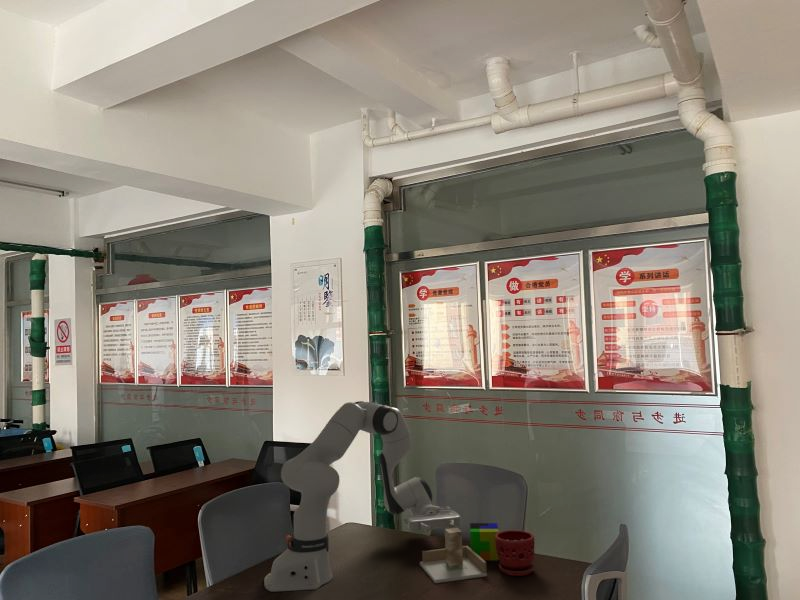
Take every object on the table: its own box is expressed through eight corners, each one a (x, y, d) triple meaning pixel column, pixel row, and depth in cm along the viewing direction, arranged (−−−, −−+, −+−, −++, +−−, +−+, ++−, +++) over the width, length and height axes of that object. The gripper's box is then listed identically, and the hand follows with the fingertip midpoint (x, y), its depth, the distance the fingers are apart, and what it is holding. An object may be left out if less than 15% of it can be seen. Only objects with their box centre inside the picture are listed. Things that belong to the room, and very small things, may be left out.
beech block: (450, 569, 207) (449, 533, 208) (445, 564, 211) (444, 529, 212) (462, 567, 208) (461, 531, 209) (458, 563, 213) (457, 527, 213)
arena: (435, 583, 198) (434, 569, 199) (419, 564, 215) (419, 551, 215) (486, 576, 203) (486, 562, 203) (467, 558, 219) (467, 545, 220)
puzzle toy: (498, 550, 227) (497, 523, 227) (499, 560, 217) (498, 531, 217) (470, 550, 228) (470, 523, 228) (471, 560, 218) (470, 531, 218)
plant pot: (541, 568, 209) (539, 532, 209) (526, 581, 198) (525, 543, 199) (505, 561, 216) (504, 526, 217) (489, 573, 205) (488, 537, 206)
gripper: (402, 511, 233) (412, 521, 219) (453, 506, 238) (466, 516, 225) (402, 528, 232) (413, 539, 219) (453, 523, 237) (466, 533, 224)
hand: (440, 527), depth 222 cm, fingers open, 8 cm apart
